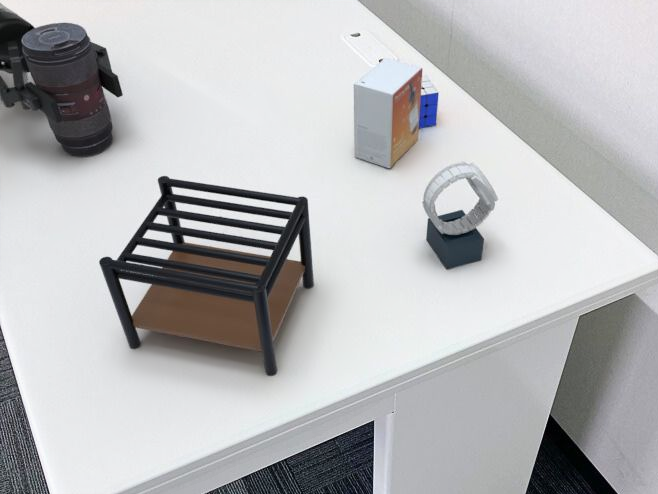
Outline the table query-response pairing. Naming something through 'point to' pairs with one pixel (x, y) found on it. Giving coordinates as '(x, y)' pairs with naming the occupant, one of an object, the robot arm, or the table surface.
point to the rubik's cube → (428, 103)
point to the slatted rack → (214, 272)
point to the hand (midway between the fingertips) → (87, 99)
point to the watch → (458, 216)
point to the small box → (387, 112)
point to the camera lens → (70, 86)
